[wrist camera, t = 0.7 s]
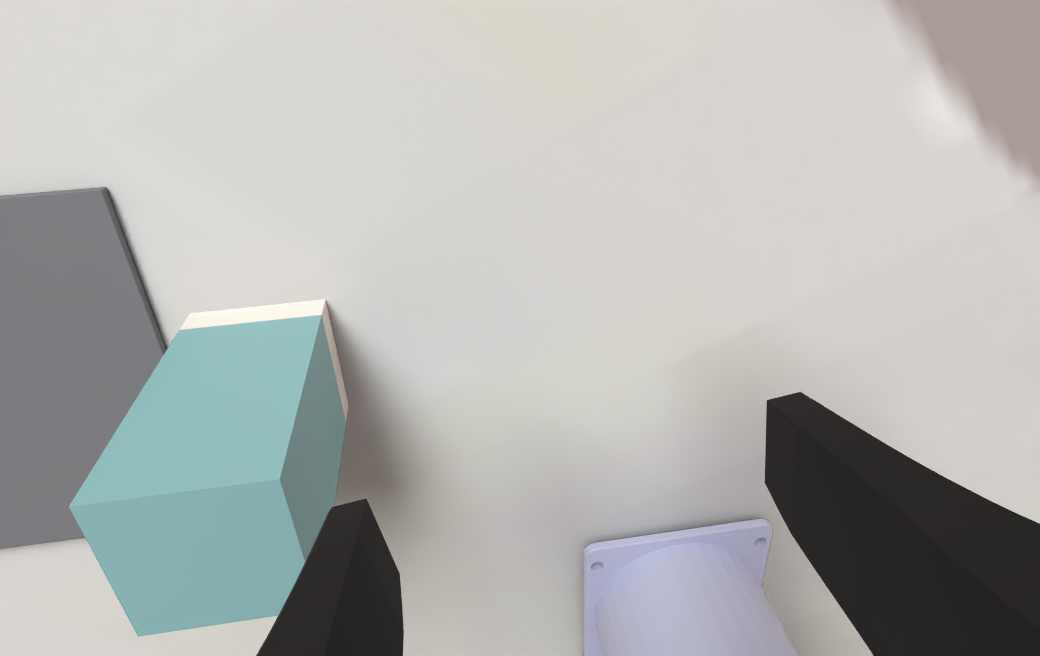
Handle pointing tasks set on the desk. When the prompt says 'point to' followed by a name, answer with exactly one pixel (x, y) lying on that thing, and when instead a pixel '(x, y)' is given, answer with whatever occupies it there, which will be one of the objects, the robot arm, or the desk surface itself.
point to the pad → (64, 353)
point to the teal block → (220, 469)
